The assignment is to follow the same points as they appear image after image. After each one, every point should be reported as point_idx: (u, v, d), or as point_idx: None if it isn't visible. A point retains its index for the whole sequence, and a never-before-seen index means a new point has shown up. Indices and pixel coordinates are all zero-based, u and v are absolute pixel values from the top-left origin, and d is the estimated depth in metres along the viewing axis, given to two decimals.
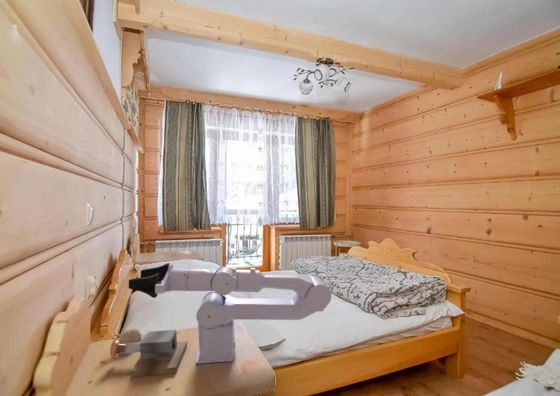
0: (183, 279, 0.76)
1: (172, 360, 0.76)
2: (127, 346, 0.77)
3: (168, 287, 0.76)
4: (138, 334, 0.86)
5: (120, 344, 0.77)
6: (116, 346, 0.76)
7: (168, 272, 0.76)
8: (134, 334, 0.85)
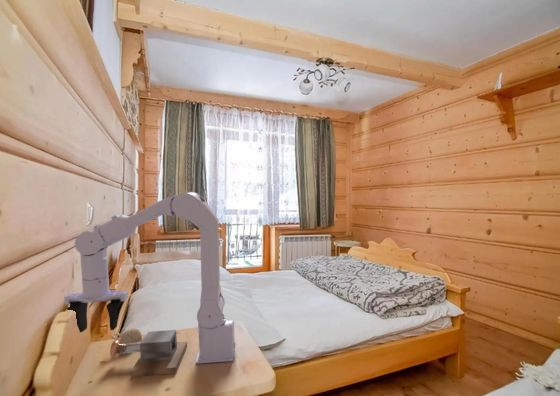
0: (104, 280, 0.75)
1: (172, 360, 0.76)
2: (127, 346, 0.77)
3: (109, 291, 0.78)
4: (138, 334, 0.86)
5: (120, 344, 0.77)
6: (116, 346, 0.76)
7: (99, 298, 0.74)
8: (135, 334, 0.85)
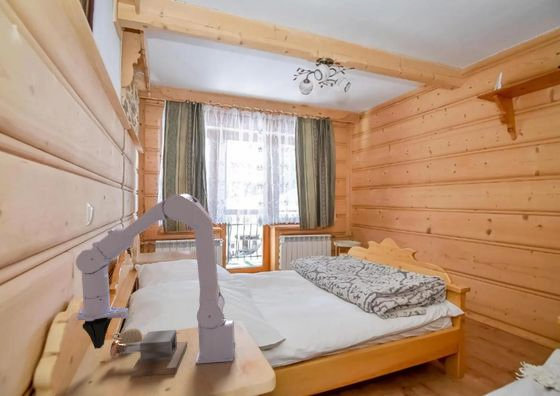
0: (105, 298, 0.75)
1: (172, 360, 0.76)
2: (127, 346, 0.77)
3: (110, 309, 0.78)
4: (139, 333, 0.86)
5: (120, 344, 0.77)
6: (116, 346, 0.76)
7: (100, 316, 0.74)
8: (135, 334, 0.85)
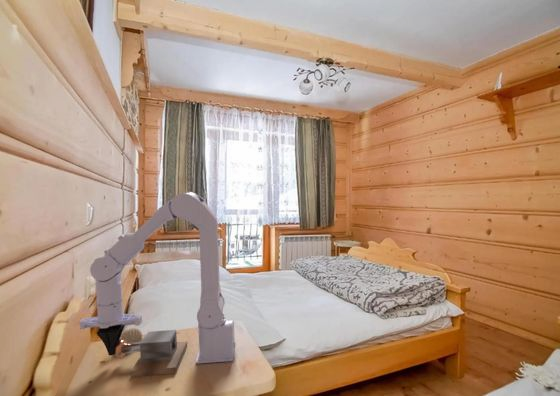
0: (119, 305, 0.76)
1: (172, 360, 0.76)
2: (133, 346, 0.77)
3: (124, 315, 0.78)
4: (139, 333, 0.86)
5: (125, 344, 0.77)
6: (121, 346, 0.76)
7: (114, 323, 0.74)
8: (135, 334, 0.85)
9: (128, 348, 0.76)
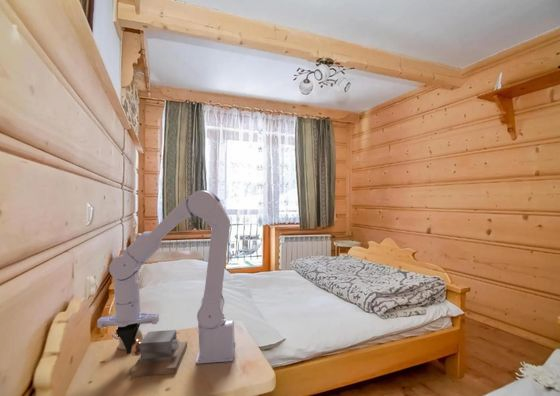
0: (137, 304, 0.76)
1: (172, 360, 0.76)
2: None
3: (141, 314, 0.78)
4: (139, 333, 0.86)
5: None
6: (137, 345, 0.76)
7: (132, 322, 0.75)
8: None
9: None
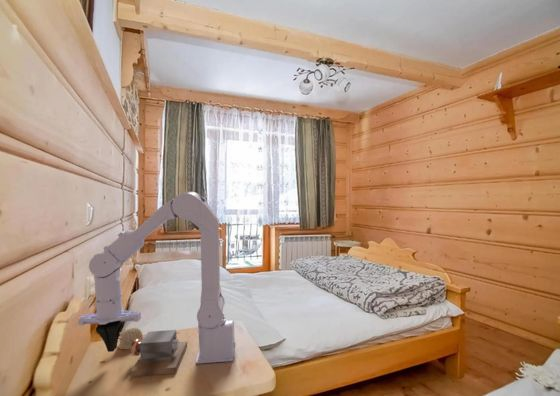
0: (118, 301, 0.76)
1: (172, 360, 0.76)
2: None
3: (123, 312, 0.78)
4: (139, 333, 0.86)
5: None
6: (136, 345, 0.76)
7: (113, 319, 0.74)
8: (135, 333, 0.85)
9: None
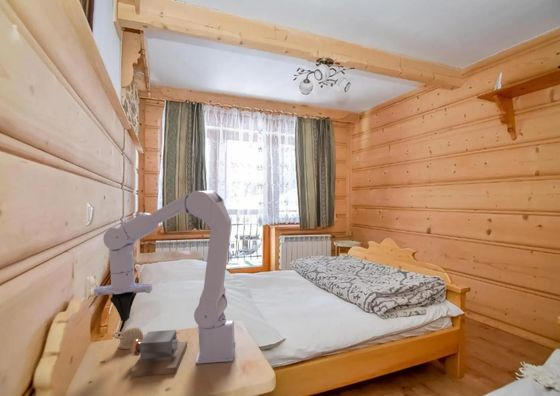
0: (131, 273, 0.81)
1: (172, 360, 0.76)
2: None
3: (135, 284, 0.83)
4: (140, 332, 0.87)
5: None
6: (136, 345, 0.76)
7: (127, 290, 0.79)
8: (136, 333, 0.86)
9: None
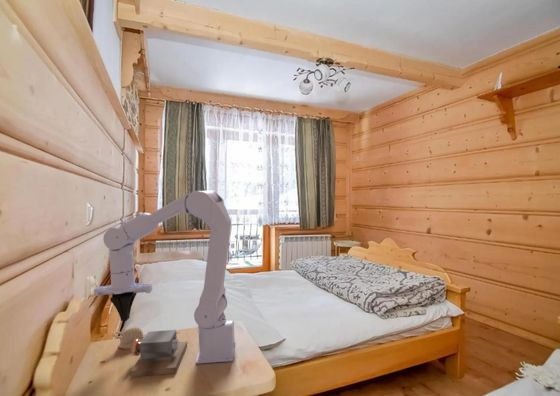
0: (131, 273, 0.81)
1: (172, 360, 0.76)
2: None
3: (135, 284, 0.83)
4: (140, 332, 0.87)
5: None
6: (136, 345, 0.76)
7: (127, 290, 0.79)
8: (136, 333, 0.86)
9: None
